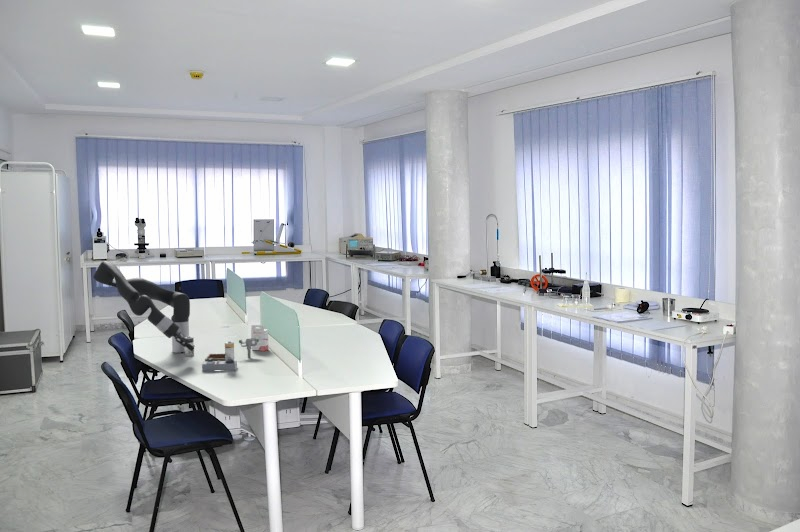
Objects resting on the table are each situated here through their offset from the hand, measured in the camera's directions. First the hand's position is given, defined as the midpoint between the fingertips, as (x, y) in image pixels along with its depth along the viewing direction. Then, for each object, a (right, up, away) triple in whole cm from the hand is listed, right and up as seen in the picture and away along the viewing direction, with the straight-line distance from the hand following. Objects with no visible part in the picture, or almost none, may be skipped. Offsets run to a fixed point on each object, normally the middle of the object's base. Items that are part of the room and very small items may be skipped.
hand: (193, 348), depth 328 cm
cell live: (+21, -6, -7) cm, 22 cm away
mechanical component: (+24, -7, +19) cm, 32 cm away
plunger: (+11, -10, -7) cm, 16 cm away
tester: (+16, -10, -7) cm, 20 cm away
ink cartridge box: (+26, -6, +36) cm, 45 cm away
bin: (+11, -8, +6) cm, 15 cm away
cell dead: (-2, -4, 0) cm, 5 cm away
